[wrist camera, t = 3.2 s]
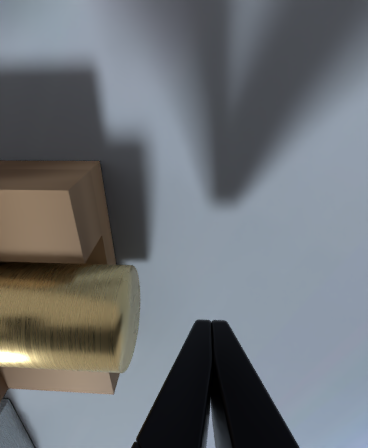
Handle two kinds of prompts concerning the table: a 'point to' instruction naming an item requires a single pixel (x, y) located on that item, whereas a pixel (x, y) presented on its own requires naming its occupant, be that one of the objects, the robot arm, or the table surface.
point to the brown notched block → (54, 245)
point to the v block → (12, 428)
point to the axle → (68, 316)
